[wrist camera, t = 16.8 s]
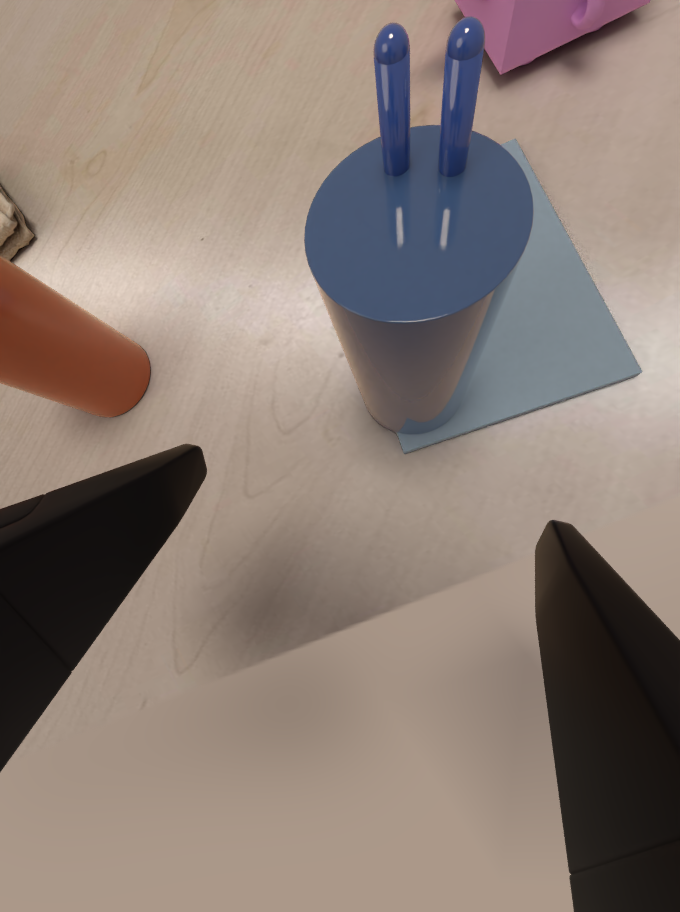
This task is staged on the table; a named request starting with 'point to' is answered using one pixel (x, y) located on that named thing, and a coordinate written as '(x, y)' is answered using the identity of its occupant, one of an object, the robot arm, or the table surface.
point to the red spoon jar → (65, 349)
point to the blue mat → (540, 333)
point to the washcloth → (12, 228)
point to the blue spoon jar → (419, 240)
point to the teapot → (539, 25)
